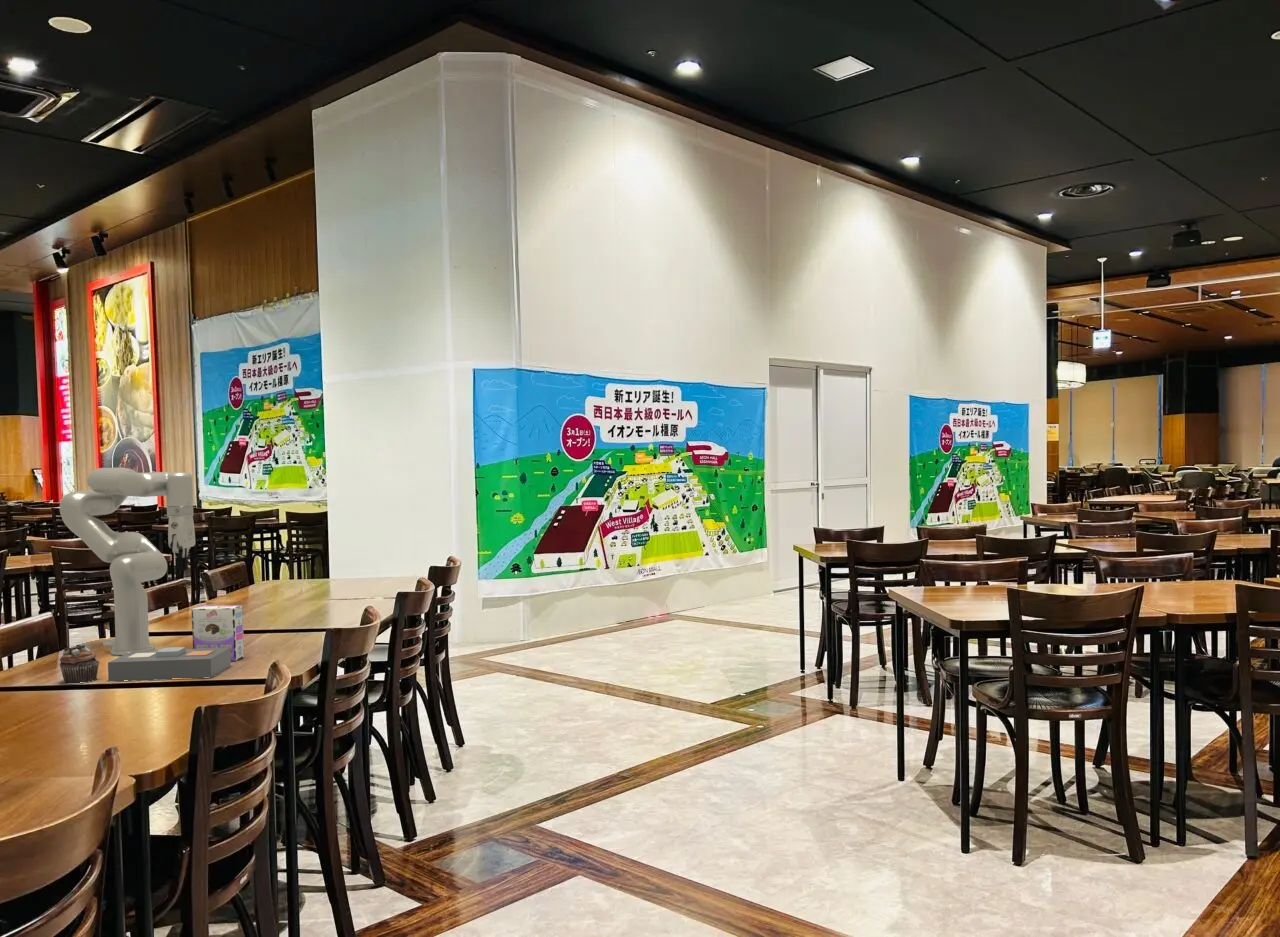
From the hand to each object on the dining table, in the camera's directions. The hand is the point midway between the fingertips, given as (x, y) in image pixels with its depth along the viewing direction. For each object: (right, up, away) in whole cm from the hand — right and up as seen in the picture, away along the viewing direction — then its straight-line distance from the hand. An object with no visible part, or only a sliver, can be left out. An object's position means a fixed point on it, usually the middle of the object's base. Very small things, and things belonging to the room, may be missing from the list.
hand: (181, 570), depth 305 cm
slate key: (+8, -24, -24) cm, 35 cm away
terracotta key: (+16, -25, -23) cm, 38 cm away
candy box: (+14, -27, -6) cm, 31 cm away
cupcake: (-14, -28, -31) cm, 44 cm away
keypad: (+8, -27, -24) cm, 37 cm away
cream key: (0, -25, -25) cm, 35 cm away
